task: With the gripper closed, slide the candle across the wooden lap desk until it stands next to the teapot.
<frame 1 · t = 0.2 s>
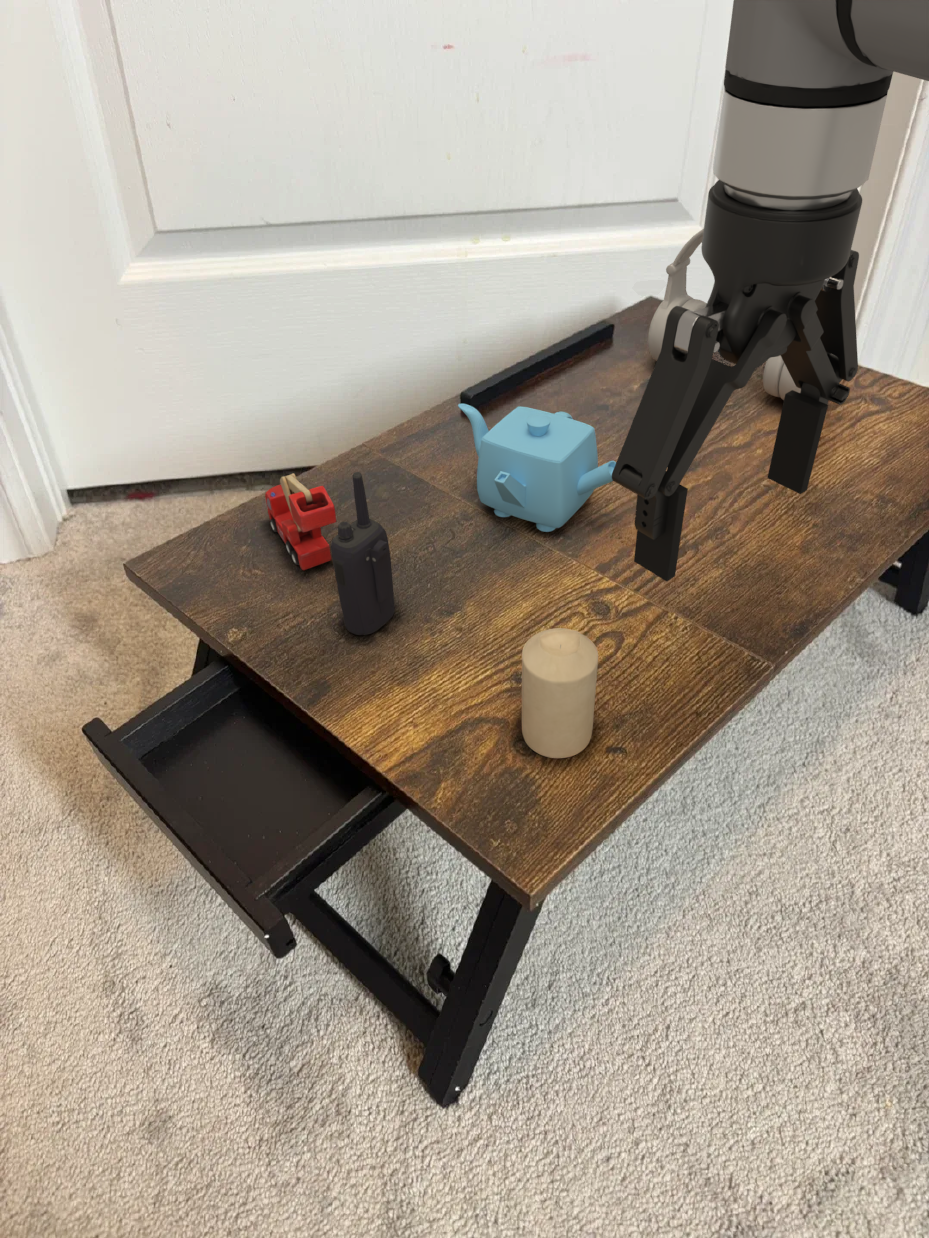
hand: (723, 524, 61), 19 cm above the table, tool pointing down, fingers open, 13 cm apart
headphones: (730, 381, 113), on the table
candle: (556, 733, 73), on the table
teapot: (532, 510, 95), on the table
toy fire truck: (306, 553, 91), on the table
two-way radio: (375, 624, 83), on the table
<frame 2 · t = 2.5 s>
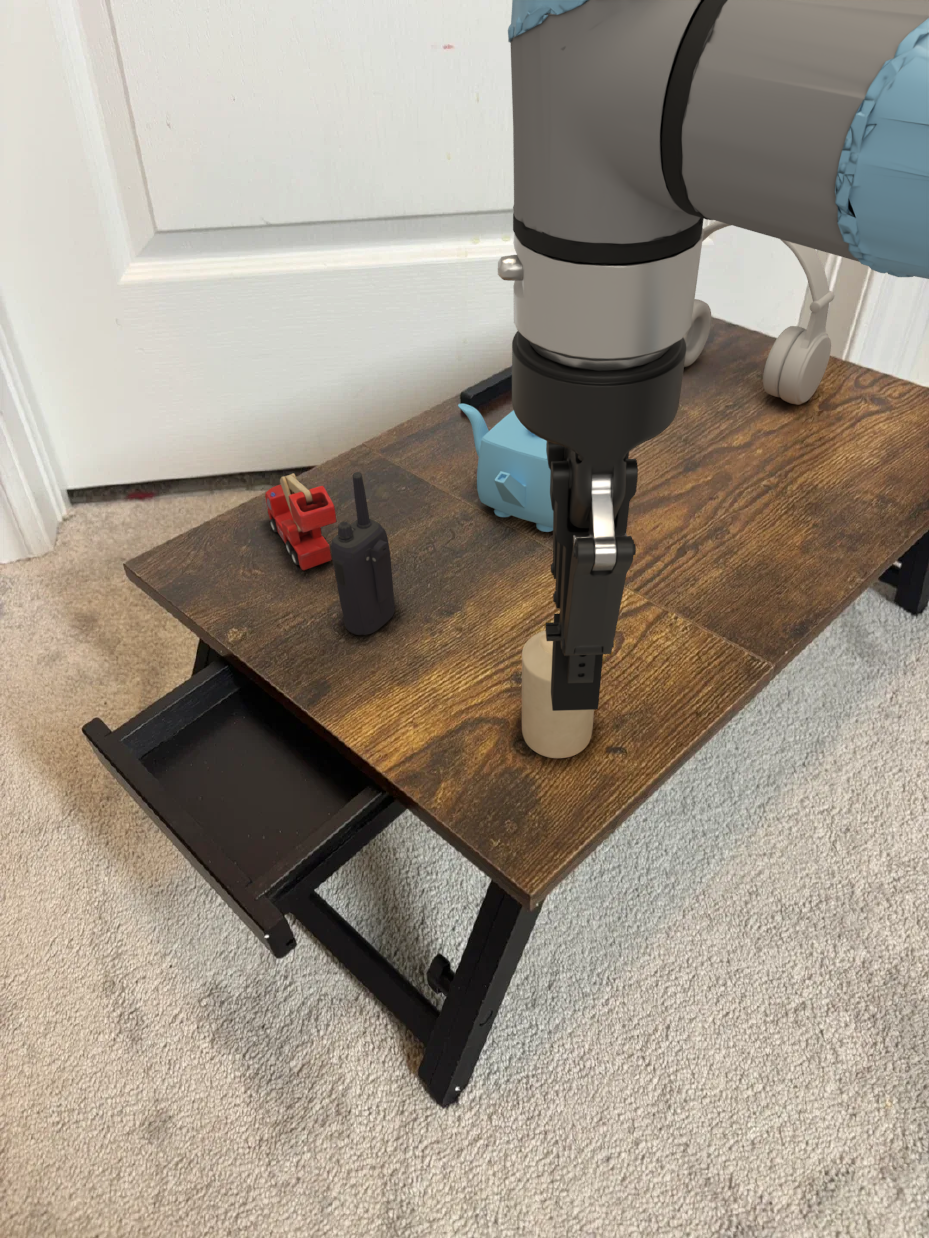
hand: (574, 700, 56), 14 cm above the table, tool pointing down, fingers closed
nothing on the table moved.
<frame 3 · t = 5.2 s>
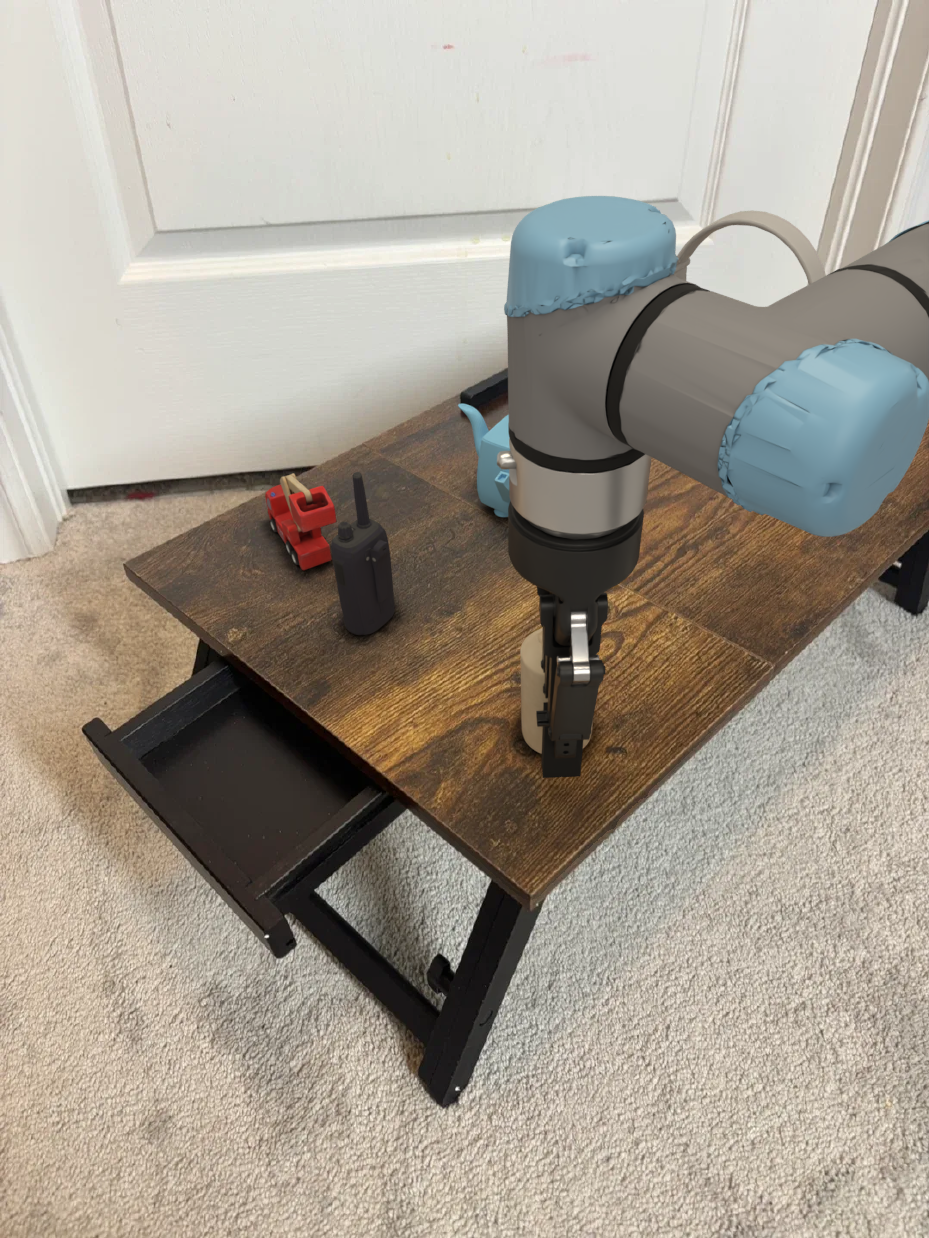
hand: (560, 769, 67), 2 cm above the table, tool pointing down, fingers closed
candle: (556, 733, 73), on the table, touching gripper
everything else where it was.
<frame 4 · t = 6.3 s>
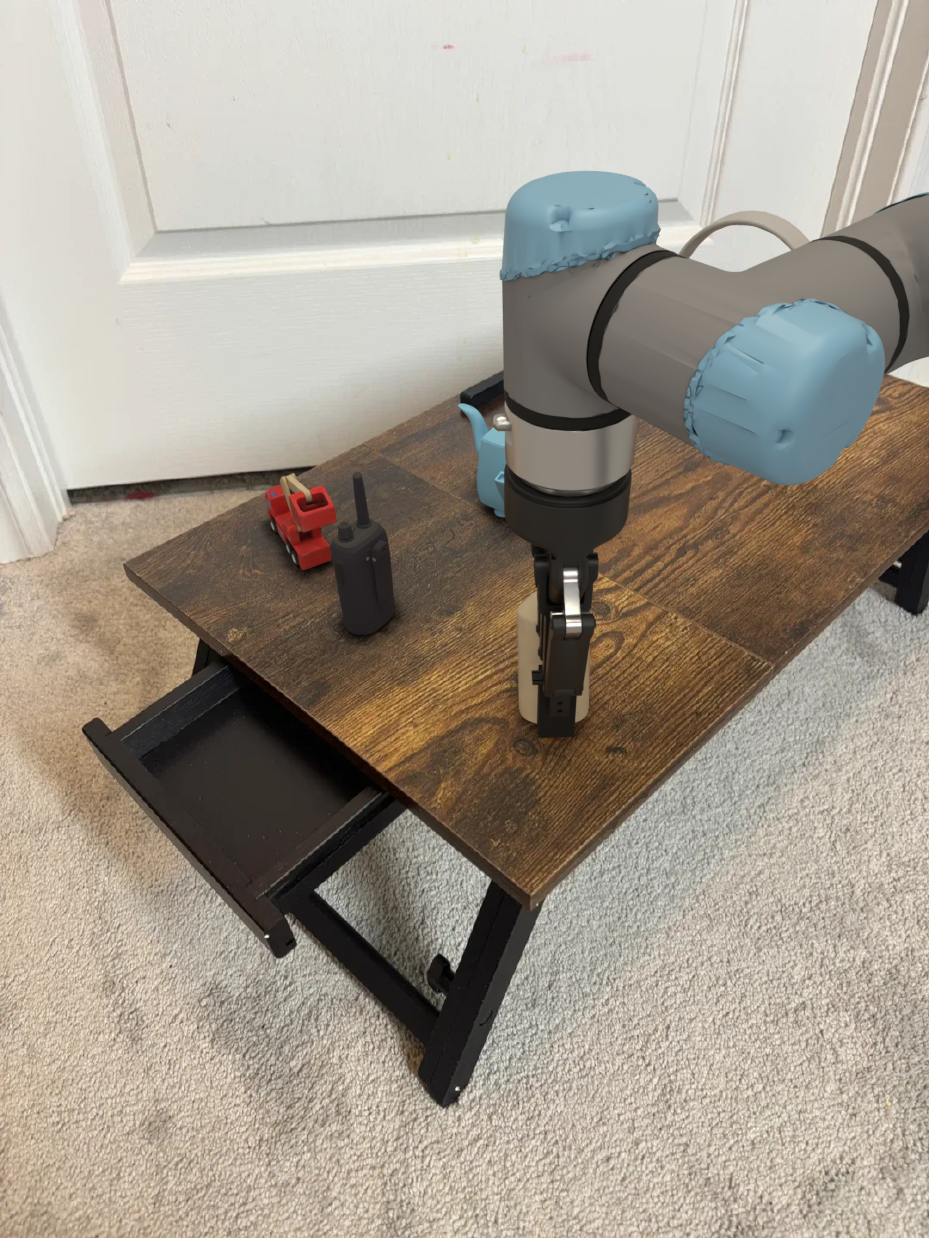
hand: (555, 731, 70), 2 cm above the table, tool pointing down, fingers closed
candle: (553, 713, 73), point 1 cm above the table, touching gripper, hand
everything else where it was.
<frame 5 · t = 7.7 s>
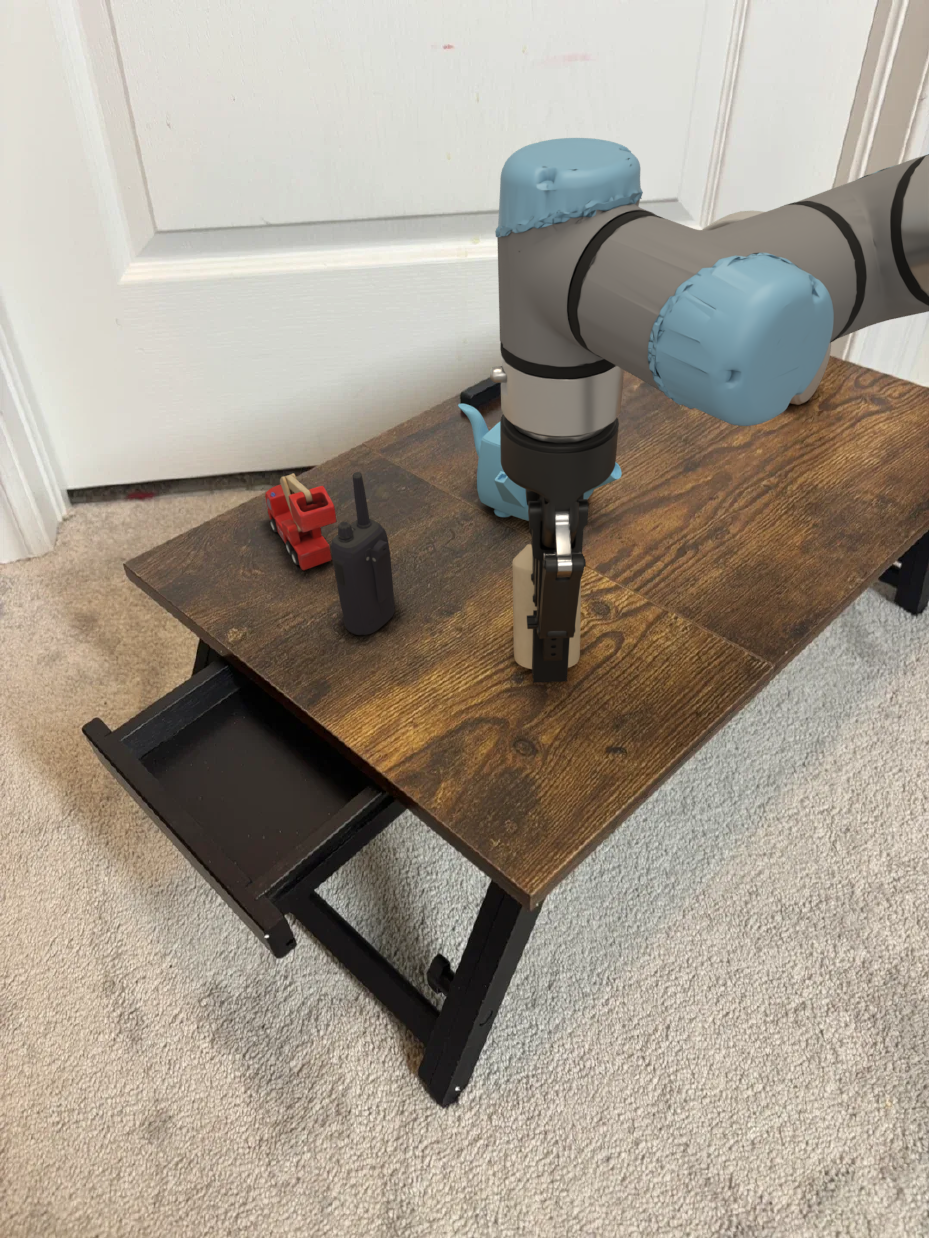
hand: (549, 675, 74), 2 cm above the table, tool pointing down, fingers closed
candle: (546, 660, 78), point 1 cm above the table, touching gripper
everything else where it was.
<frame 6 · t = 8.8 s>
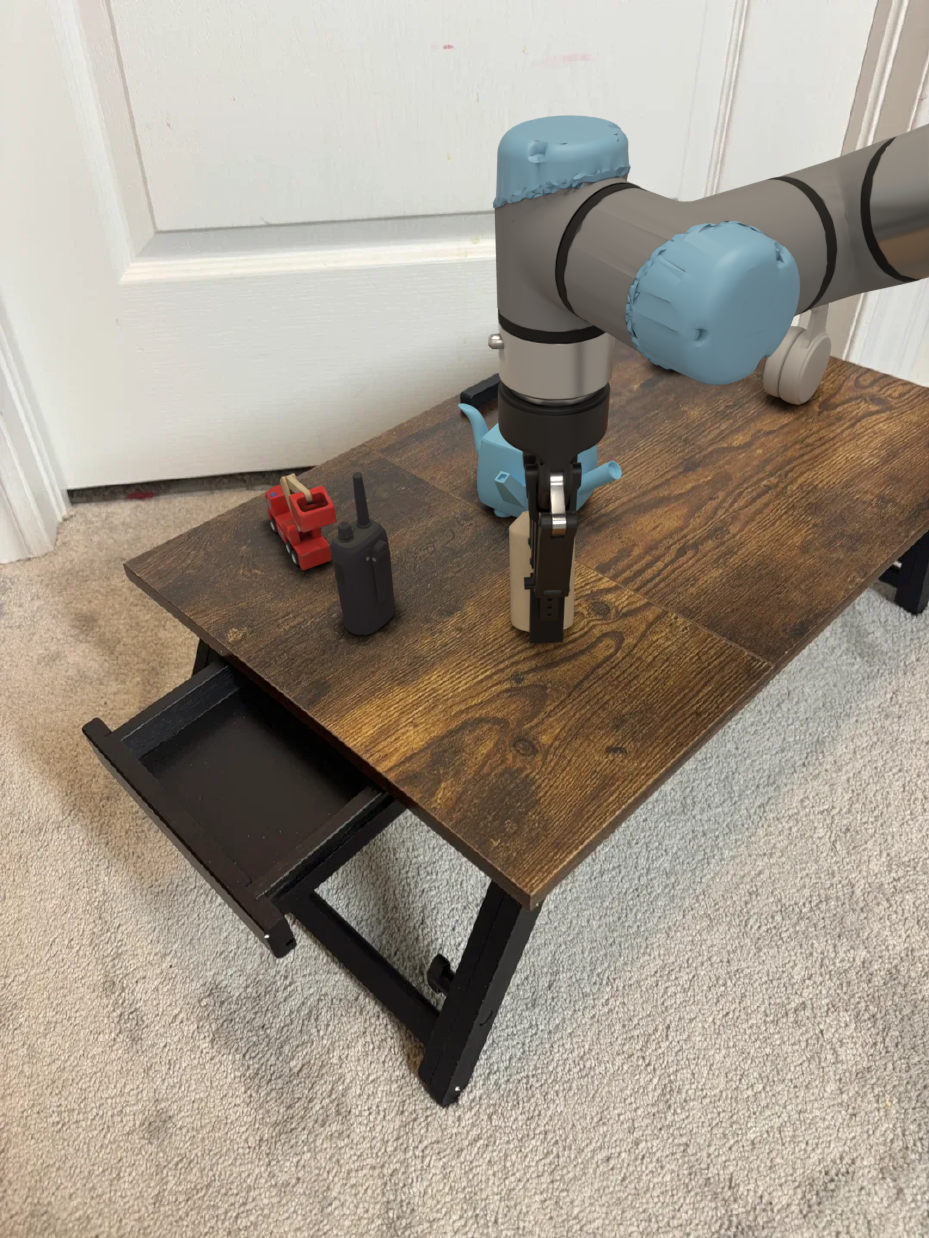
hand: (545, 637, 78), 2 cm above the table, tool pointing down, fingers closed
candle: (542, 623, 81), point 1 cm above the table, touching gripper
everything else where it was.
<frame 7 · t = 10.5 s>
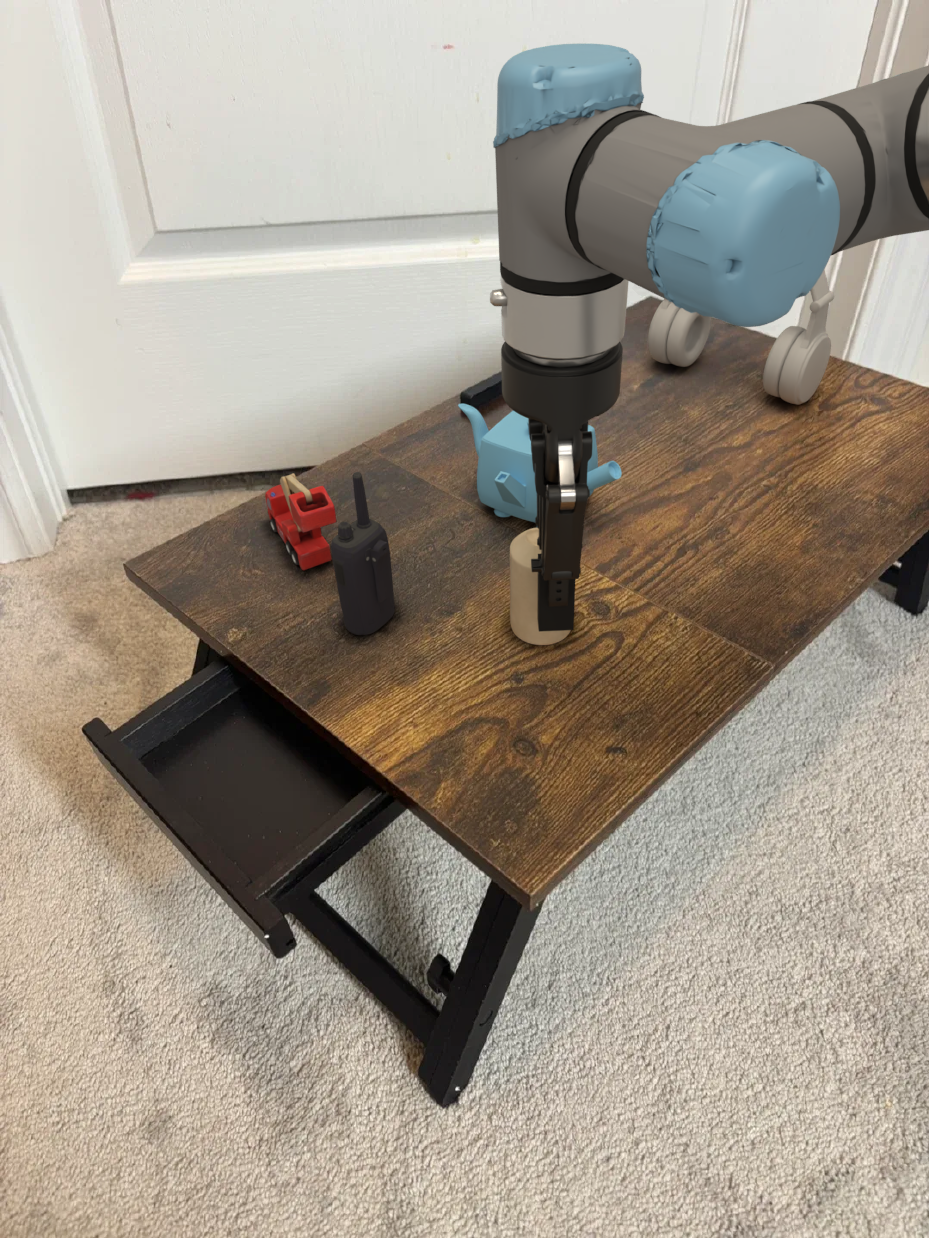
hand: (555, 624, 73), 6 cm above the table, tool pointing down, fingers closed
candle: (541, 626, 82), on the table
everything else where it was.
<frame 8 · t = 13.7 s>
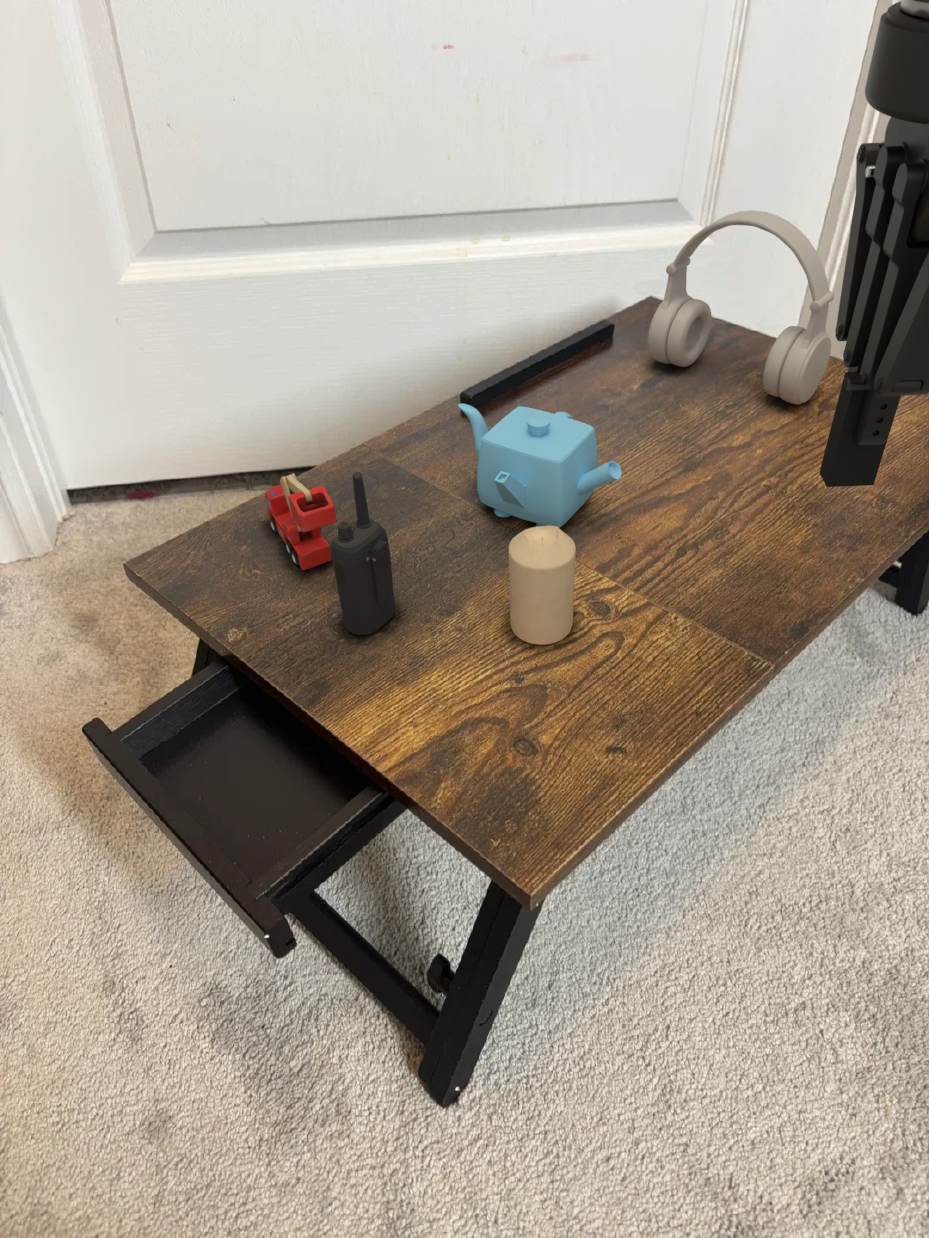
hand: (846, 478, 55), 24 cm above the table, tool pointing down, fingers closed
nothing on the table moved.
at the end: candle 17.3 cm from the teapot (horizontally); candle tilted 1°; teapot moved 0.2 cm from its start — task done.
